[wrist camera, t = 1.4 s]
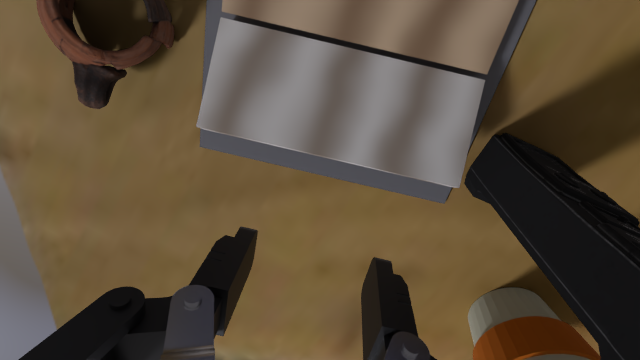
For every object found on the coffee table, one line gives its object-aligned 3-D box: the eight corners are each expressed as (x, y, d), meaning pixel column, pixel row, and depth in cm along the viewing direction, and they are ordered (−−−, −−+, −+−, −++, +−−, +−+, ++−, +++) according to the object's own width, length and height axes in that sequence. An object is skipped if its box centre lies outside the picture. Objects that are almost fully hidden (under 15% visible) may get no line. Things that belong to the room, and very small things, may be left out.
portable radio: (568, 161, 31) (1150, 529, 8) (525, 209, 33) (883, 590, 11) (497, 127, 30) (927, 434, 8) (459, 180, 33) (696, 524, 10)
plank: (474, 86, 28) (485, 80, 26) (450, 186, 28) (459, 187, 26) (226, 27, 28) (220, 17, 26) (204, 129, 28) (196, 126, 26)
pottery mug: (57, -43, 28) (17, -90, 20) (177, -8, 32) (179, -36, 25) (56, 99, 30) (19, 103, 23) (168, 115, 34) (167, 122, 27)
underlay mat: (555, -46, 24) (557, -47, 24) (443, 202, 34) (444, 203, 34) (214, -129, 24) (212, -131, 23) (201, 145, 33) (199, 146, 33)
